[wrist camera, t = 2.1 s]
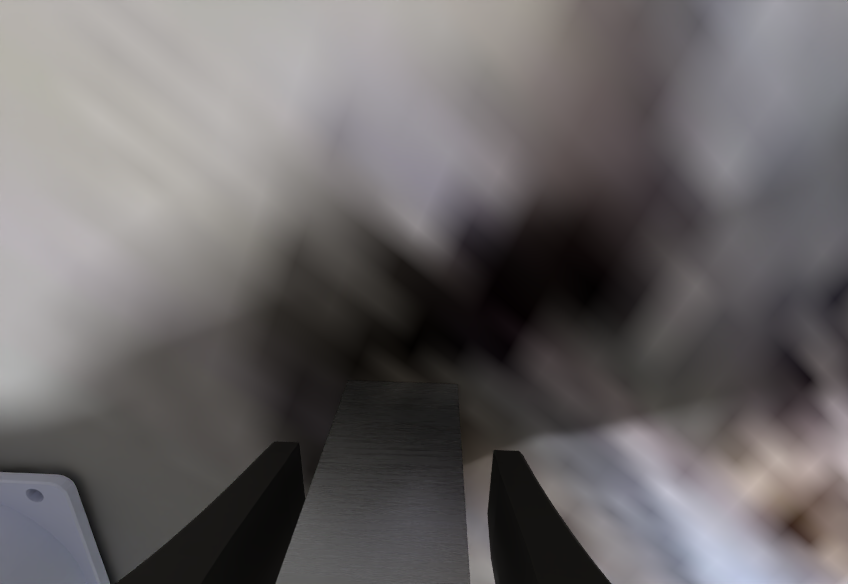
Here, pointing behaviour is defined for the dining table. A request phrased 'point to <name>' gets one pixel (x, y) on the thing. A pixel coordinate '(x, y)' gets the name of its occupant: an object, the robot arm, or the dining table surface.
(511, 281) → the dining table surface
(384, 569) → the brushed metal block
